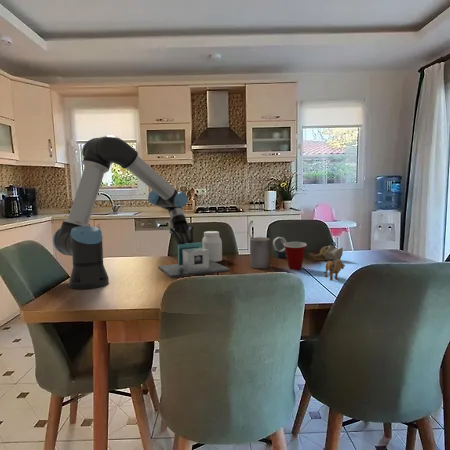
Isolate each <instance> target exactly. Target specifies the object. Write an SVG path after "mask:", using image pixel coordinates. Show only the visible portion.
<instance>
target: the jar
mask: <svg viewBox="0 0 450 450" xmlns="http://www.w3.org/2000/svg"><path fill="white" fill-rule="evenodd" d="M201 242H202V248H204V249H207V250H209V261H210V260H211V261H214V262H216V263H218V262H221V261H223V246H222V245H223V241H222V238H221V237H220V231H215V230H209V231H204V232H203V237H202V239H201Z"/></svg>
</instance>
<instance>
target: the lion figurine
mask: <svg viewBox="0 0 450 450" xmlns="http://www.w3.org/2000/svg"><path fill="white" fill-rule="evenodd" d="M345 266H346V264H344V263H343V262H342V260H341V259H337V260H327V262H326V263H325V271H323V273H324V277H326V278H327V277H328V275H329V281H333V280H334V279H335V280H336V281H338V280H339V278H338V274H339V273H340V272H341V270H344V268H345ZM328 271H329V274H328ZM333 274H335V275H334V279H333Z"/></svg>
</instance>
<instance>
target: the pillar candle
mask: <svg viewBox="0 0 450 450" xmlns="http://www.w3.org/2000/svg"><path fill="white" fill-rule="evenodd" d="M249 267H250V268H253V269H268V268H270V267H271V239H270V238H269V237H261V236H259V237H252V238H250V239H249Z"/></svg>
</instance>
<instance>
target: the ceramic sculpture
mask: <svg viewBox="0 0 450 450" xmlns="http://www.w3.org/2000/svg"><path fill="white" fill-rule="evenodd" d="M343 249H344V247H340V248H339V247H338V248H336V247H335V246H334V245H332V244H330V243H329V244H328V246H323V247H321V248H320V250H319V253H318V254H315V255H311V257H312V258H314V259H316V260H324V261H334V260H337V259H340V260H341V258H342V256H343Z"/></svg>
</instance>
